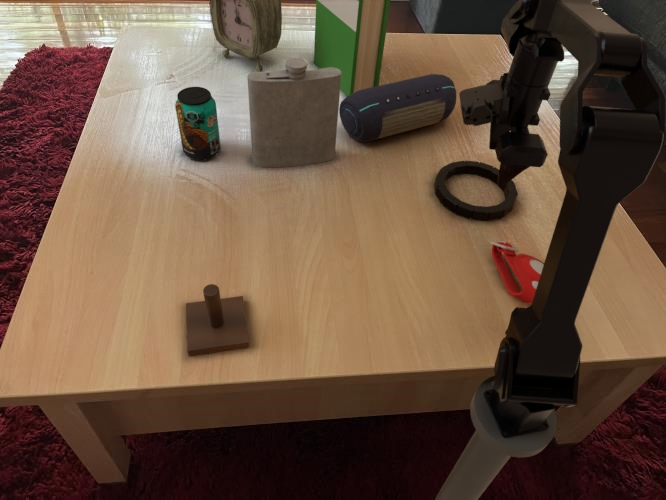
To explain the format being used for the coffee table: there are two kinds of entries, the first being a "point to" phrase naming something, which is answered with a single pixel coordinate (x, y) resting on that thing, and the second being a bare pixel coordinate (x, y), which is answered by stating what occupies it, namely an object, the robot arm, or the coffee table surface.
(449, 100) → the portable speaker
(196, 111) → the beverage can
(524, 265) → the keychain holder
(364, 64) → the hardback book
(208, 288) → the post
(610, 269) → the coffee table surface
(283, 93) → the hip flask
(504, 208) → the ring
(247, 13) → the tabletop clock
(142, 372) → the coffee table surface
